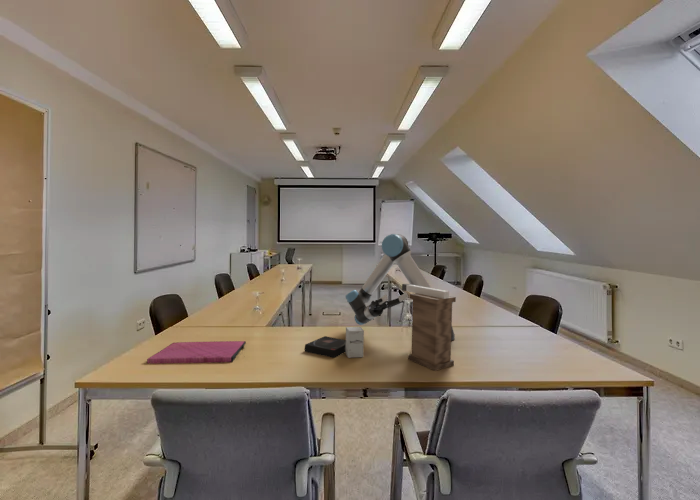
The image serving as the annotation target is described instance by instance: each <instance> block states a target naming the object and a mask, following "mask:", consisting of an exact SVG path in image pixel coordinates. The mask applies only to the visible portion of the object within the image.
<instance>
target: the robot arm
mask: <svg viewBox="0 0 700 500" xmlns="http://www.w3.org/2000/svg"><path fill="white" fill-rule="evenodd" d="M381 250H382V252H383V254H384V255H383V256H382V258H381V259H380V261H379V262H378V263H377V265H376V267H375V268H374V269H373V271H372V272H371V274H370V275H369V276H368V278H367V279H366V281H365V282H364V284H363V286H361V288H360V290H359V291H357V289H353V290H351V291H350V292H348V293H347V294H346V295H345V299H346V300H347V303H348V305H349V306H350V307H351V309H352V310H353V312H354V314H355V315H354V322H355V323H356V324H358V325H360V326H362V325H366V324H368V323H369V322H371V321H373V320H375V319H376V318H378V317H379V316H381V315H382V314H383V313H384V310H386V309H391V308H392V307H395V306H398V305H399V304H403V303H404V301H405V300H406V299H408V298H409V295H408V292H404V293H403V294H401V295H399V296H397V298H394V299H391V300H389V299H388V296H387V294H384V295H383V296H381V297H379V298H378V299H375V301H374V300H372V301H371V303H370V304H369V305H366V303H369V301H370V300H371V297H372V296H373V294H374V292H375V291H376V290H377V288H378V287H379V285H380V284H381V283H382V282H383V280H384V279H385V278H386V276H387V274H388V273H389V272H390V270H391V269H392V267H394V264H396V265H397V267H398V268H399V270H400V272H401V273H402V274H403V276H404V277H405V279H406V280H407V282H408V284H411V285H416V286H422V287H428V288H432V286H431V285H430V283H429V282H428V280H427V278H426V277H425V276H424V274H423V272H422V271H421V269H420V268H419V267H418V264H417V263H416V262H415V260H414V259H413V257H412V249H410V247H409V241H408V239H407V238H406V236H404V235H402V234H396V233H390V234H388V235H386V237H384V239H383V240H382V242H381ZM388 300H389V301H388ZM453 303H454V302H452V305H453ZM455 335H456V334H455V332H454V328H453V326H452V327H451V342H452V341H454V340H455V338H456V337H455Z"/></svg>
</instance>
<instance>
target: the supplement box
mask: <svg viewBox="0 0 700 500" xmlns="http://www.w3.org/2000/svg"><path fill="white" fill-rule="evenodd" d="M345 340H346V349H345V355H346V357H347V358H364V342H365V341H364V340H365V330H364V329H363V327H361V326H347V327H346V326H345Z"/></svg>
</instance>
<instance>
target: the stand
mask: <svg viewBox="0 0 700 500" xmlns="http://www.w3.org/2000/svg"><path fill="white" fill-rule="evenodd" d="M409 299H411V300H412V310H411V311H412V317H411V321H412V322H411V323H412V324H411V326H412V327H411V354H408V355H407V356H408V357H407V360H409V361H411V362H414V363H416V364H418V365H421V366H423V367H425V368H427V369H430V370H432V371H435V372H436V371H438V370H439V371H440V370H442V369H446V368H449V367H452V366H454V364H455V360H453V359H451V358H452V357H451V355H452V354H451V353H452V341H451V327H452V328H453V324H452V323H453V319H452V318H453V304H452V302H453V303H456V300H457V297H456V296H450V295H449V298H446V299H443V298H438V297H433V296H428V295H423V294H418V293H409Z"/></svg>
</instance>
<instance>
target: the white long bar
mask: <svg viewBox="0 0 700 500" xmlns="http://www.w3.org/2000/svg"><path fill="white" fill-rule="evenodd" d="M401 291H403V292H404V291H405V292H407V293H412V294H415V293H418V294H423V295H428V296H433V297H438V298H443V299H446V298H449V296H450V291H449V290H444V289H438V288H434V287H433V288H432V287H431V288H428V287H422V286H416V285H411V284H409V283H402V284H401Z"/></svg>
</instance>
